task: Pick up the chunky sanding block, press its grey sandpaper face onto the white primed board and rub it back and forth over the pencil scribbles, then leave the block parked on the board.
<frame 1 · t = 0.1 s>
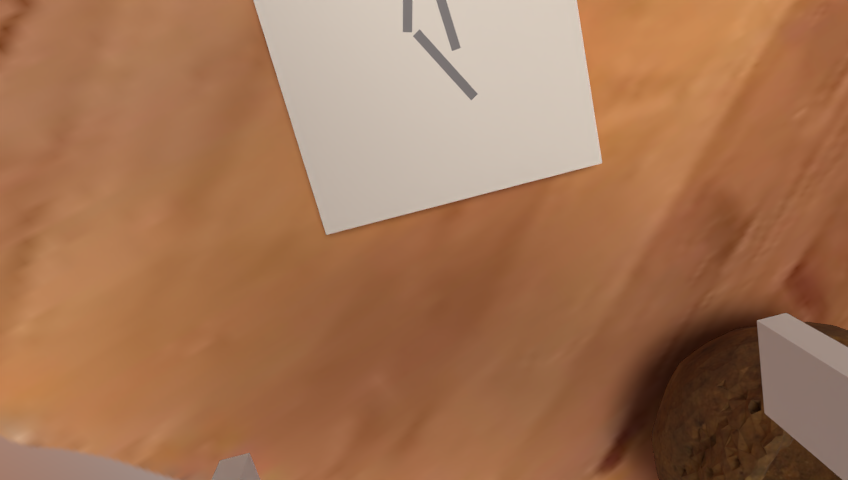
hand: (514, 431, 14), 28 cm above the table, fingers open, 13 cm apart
bowl: (722, 386, 47), on the table
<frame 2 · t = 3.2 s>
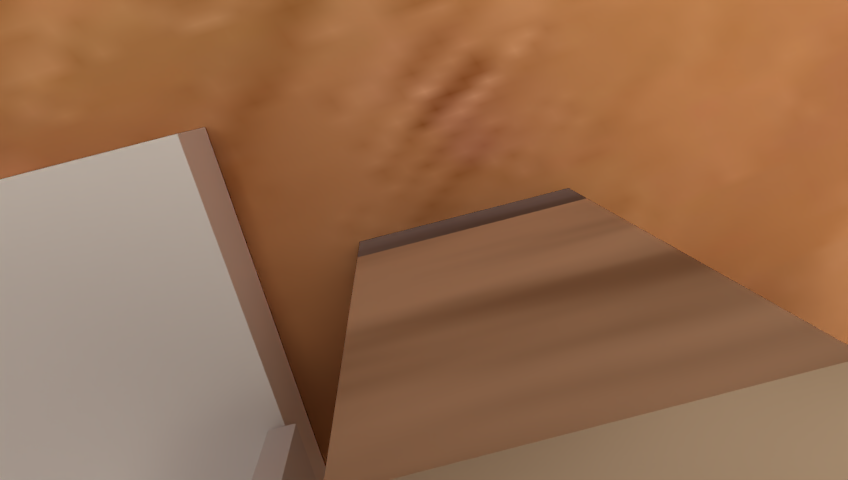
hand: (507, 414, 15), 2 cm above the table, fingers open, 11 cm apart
sanding block: (499, 369, 17), on the table
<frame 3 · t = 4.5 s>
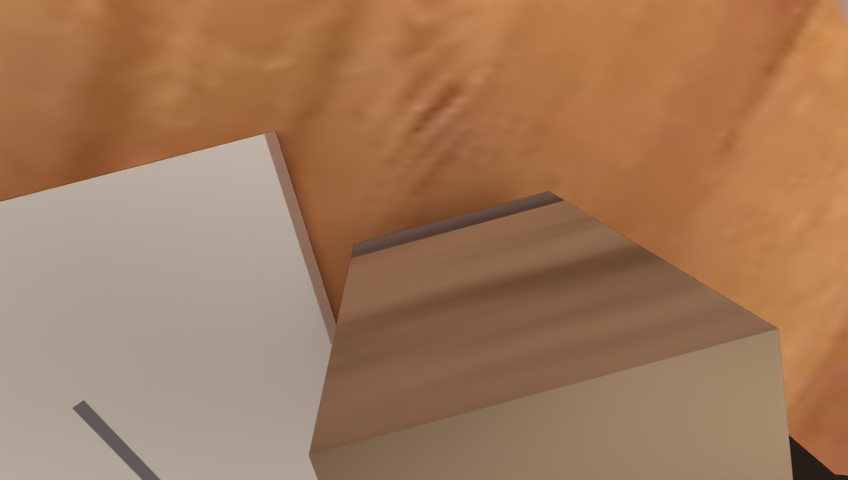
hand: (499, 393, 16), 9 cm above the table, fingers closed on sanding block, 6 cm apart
sanding block: (488, 364, 18), point 7 cm above the table, touching gripper
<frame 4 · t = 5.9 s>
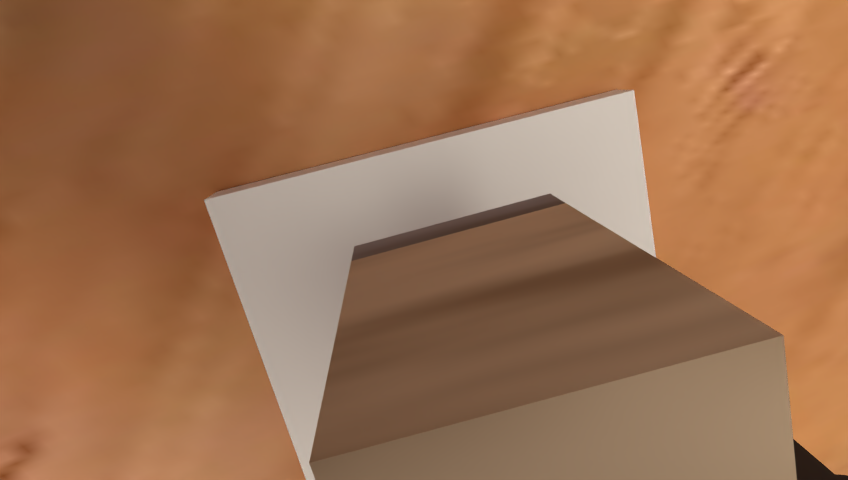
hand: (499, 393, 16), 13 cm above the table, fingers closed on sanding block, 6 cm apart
sanding block: (489, 367, 18), point 11 cm above the table, touching gripper
board: (481, 403, 31), on the table
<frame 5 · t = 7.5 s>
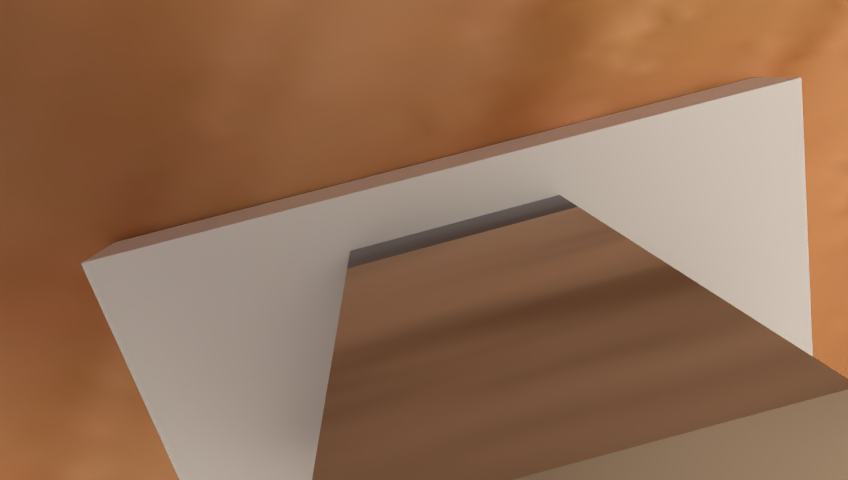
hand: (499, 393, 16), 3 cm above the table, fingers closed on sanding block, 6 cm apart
sanding block: (493, 377, 17), point 2 cm above the table, touching board, gripper
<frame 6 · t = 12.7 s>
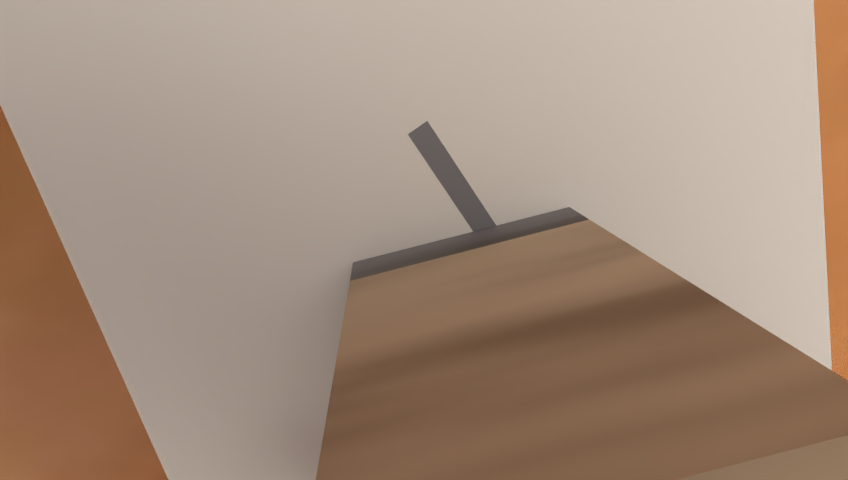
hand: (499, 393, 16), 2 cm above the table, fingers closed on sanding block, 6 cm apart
sanding block: (498, 394, 16), point 2 cm above the table, touching gripper
board: (477, 323, 18), on the table
when the fingers open (3 cm above the table, at t = 18.0 s): sanding block stays where it is, resting on board.
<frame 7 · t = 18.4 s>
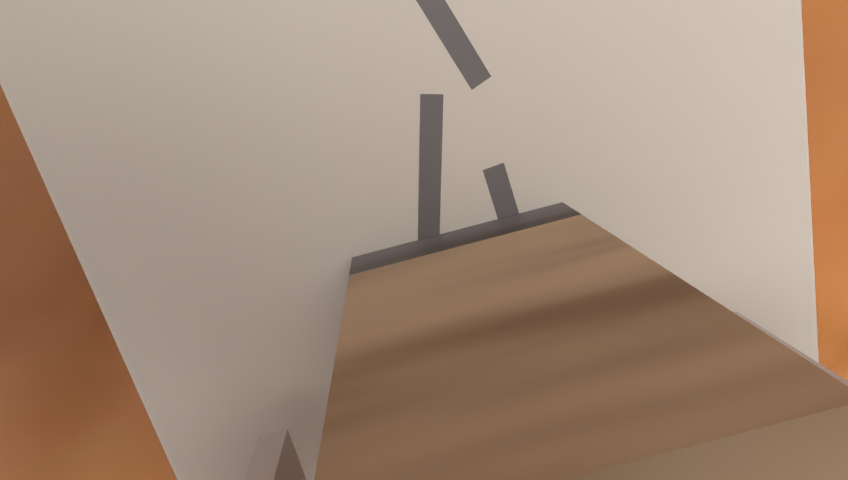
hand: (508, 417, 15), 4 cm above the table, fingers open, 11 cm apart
sanding block: (495, 385, 17), point 2 cm above the table, touching board
board: (432, 141, 17), on the table
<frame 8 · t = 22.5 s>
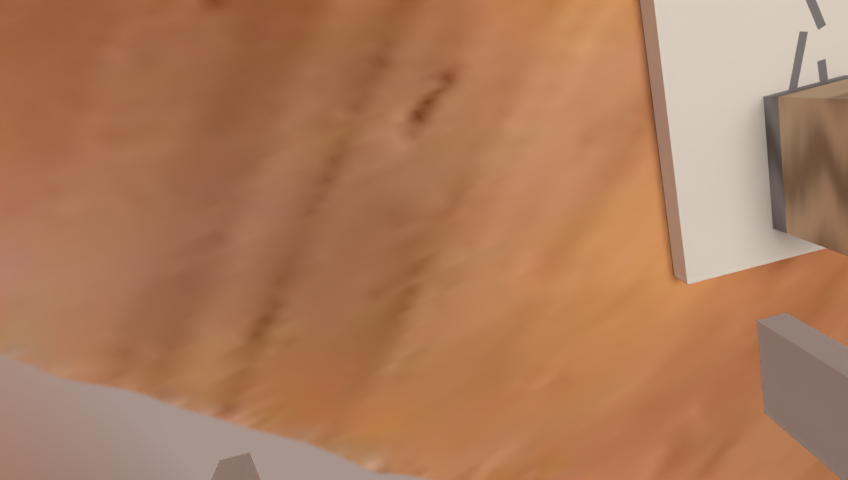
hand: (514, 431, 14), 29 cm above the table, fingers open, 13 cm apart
sanding block: (807, 154, 41), point 2 cm above the table, touching board
board: (782, 54, 41), on the table
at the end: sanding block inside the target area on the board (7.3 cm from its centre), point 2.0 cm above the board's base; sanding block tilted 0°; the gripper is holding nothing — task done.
